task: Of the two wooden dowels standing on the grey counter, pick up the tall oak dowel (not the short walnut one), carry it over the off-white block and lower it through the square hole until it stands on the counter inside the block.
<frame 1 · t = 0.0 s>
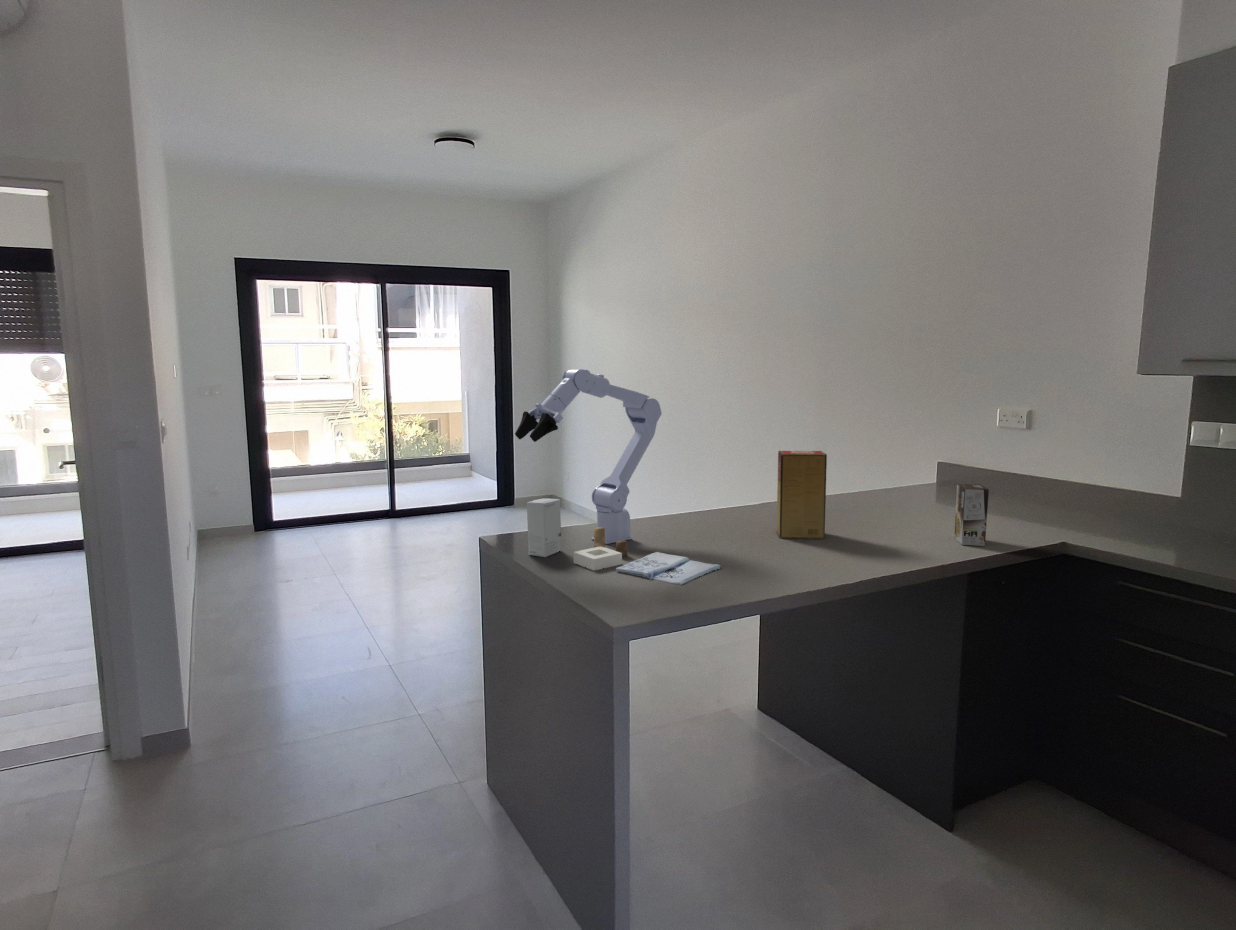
hand: (524, 437, 196), 32 cm above the worktop, tool tilted 50°, fingers open, 7 cm apart
folded cloth: (668, 572, 186), on the worktop
food packaging: (799, 535, 221), on the worktop
oak dowel: (599, 553, 203), on the worktop
skincare box: (545, 553, 204), on the worktop
walnut dowel: (621, 555, 200), on the worktop
socket block: (597, 563, 193), on the worktop
coffee box: (969, 542, 210), on the worktop
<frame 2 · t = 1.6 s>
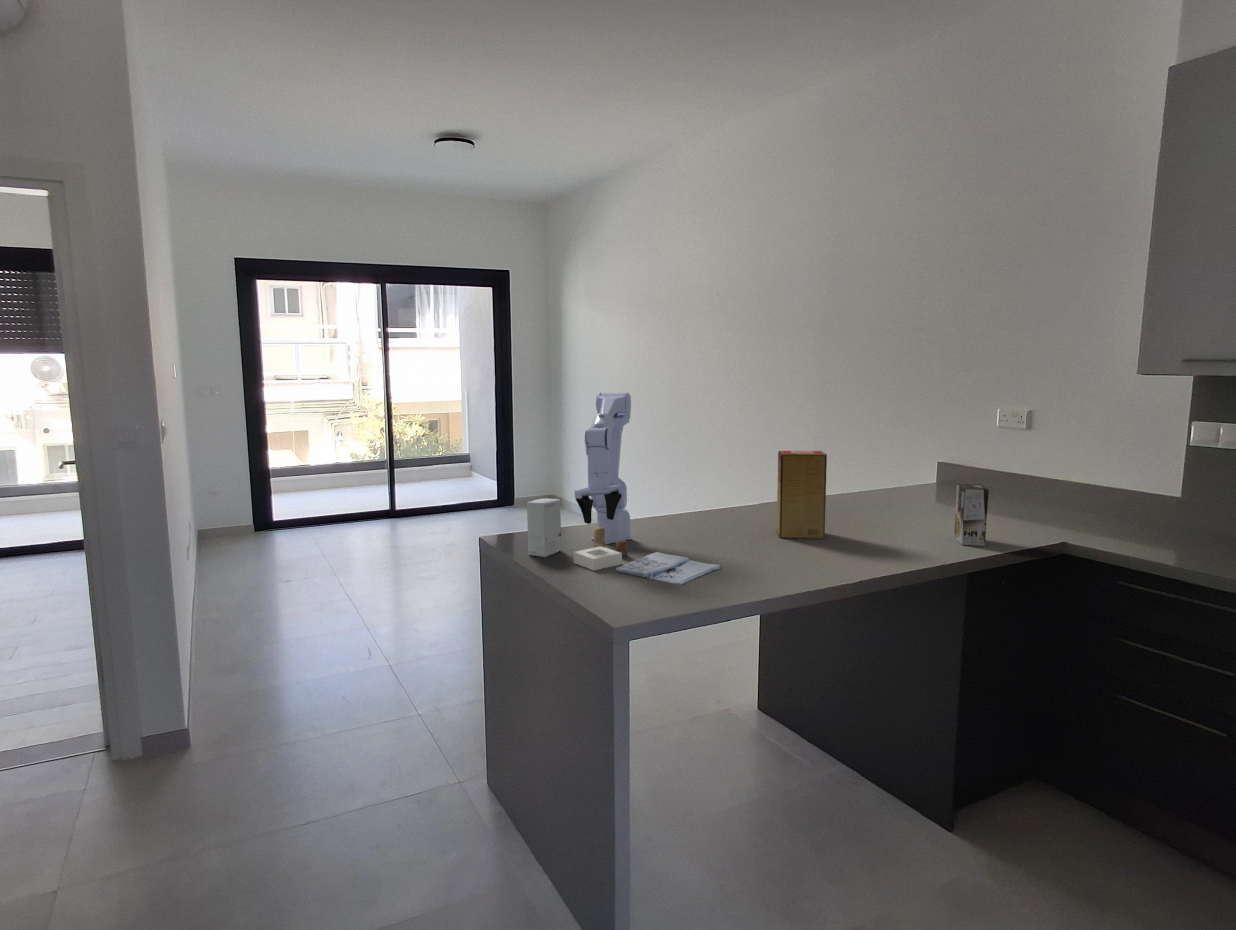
hand: (599, 521, 201), 9 cm above the worktop, tool pointing down, fingers open, 7 cm apart
nothing on the worktop moved.
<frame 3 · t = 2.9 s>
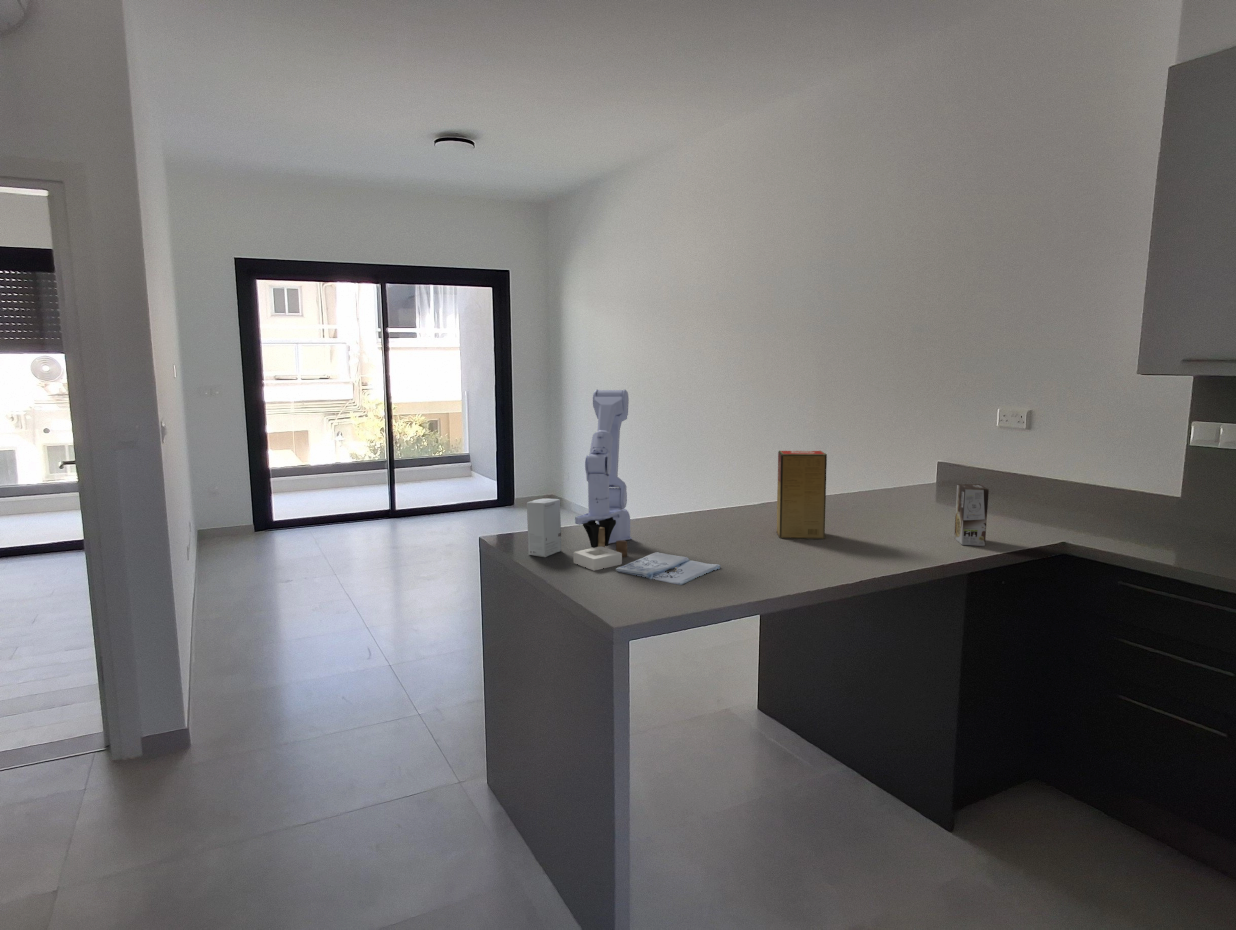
hand: (599, 546, 202), 2 cm above the worktop, tool pointing down, fingers closed on oak dowel, 3 cm apart
oak dowel: (599, 553, 203), on the worktop, touching gripper
everything else where it was.
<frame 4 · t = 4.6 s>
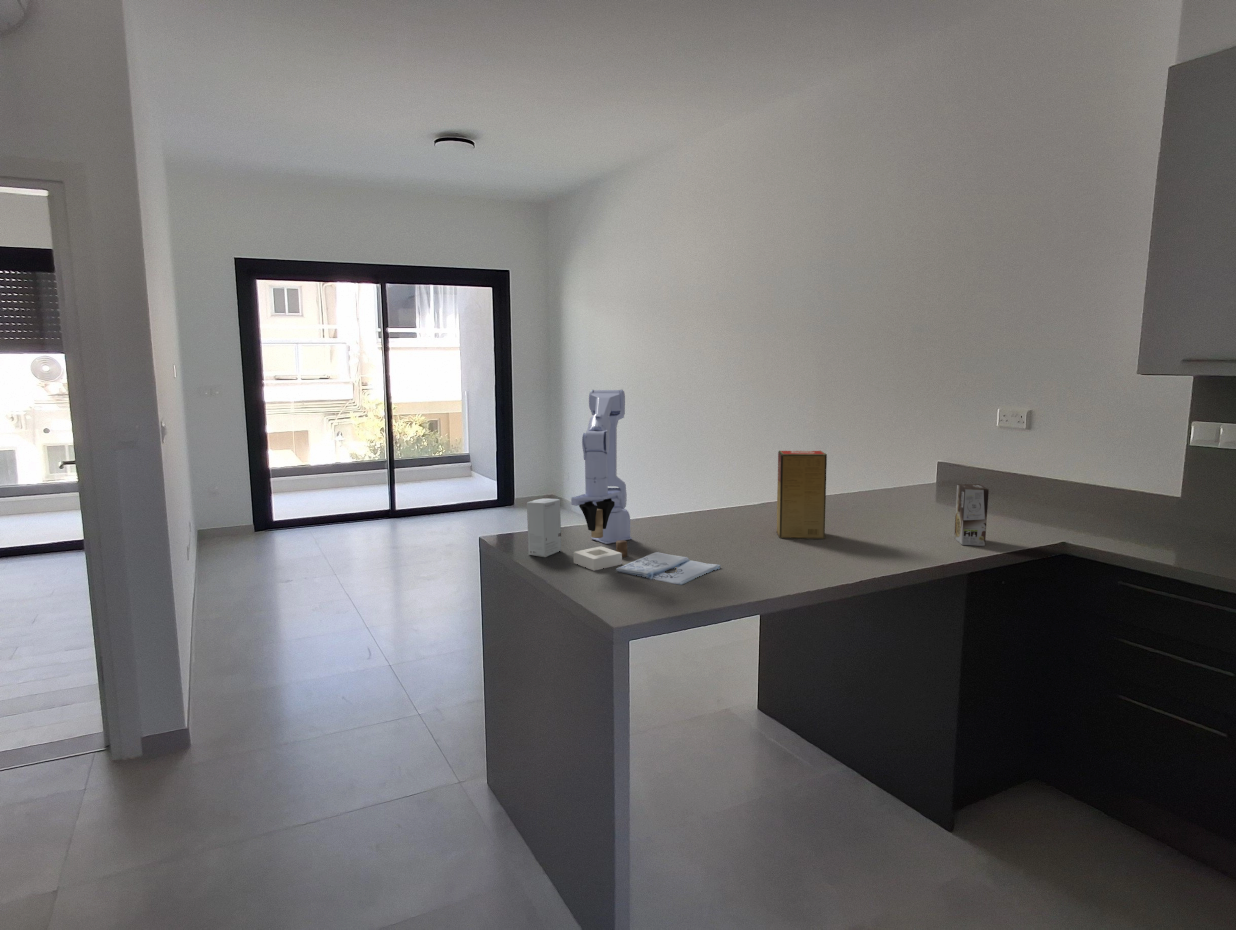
hand: (597, 529, 191), 9 cm above the worktop, tool pointing down, fingers closed on oak dowel, 3 cm apart
oak dowel: (597, 536, 191), point 7 cm above the worktop, touching gripper
everything else where it was.
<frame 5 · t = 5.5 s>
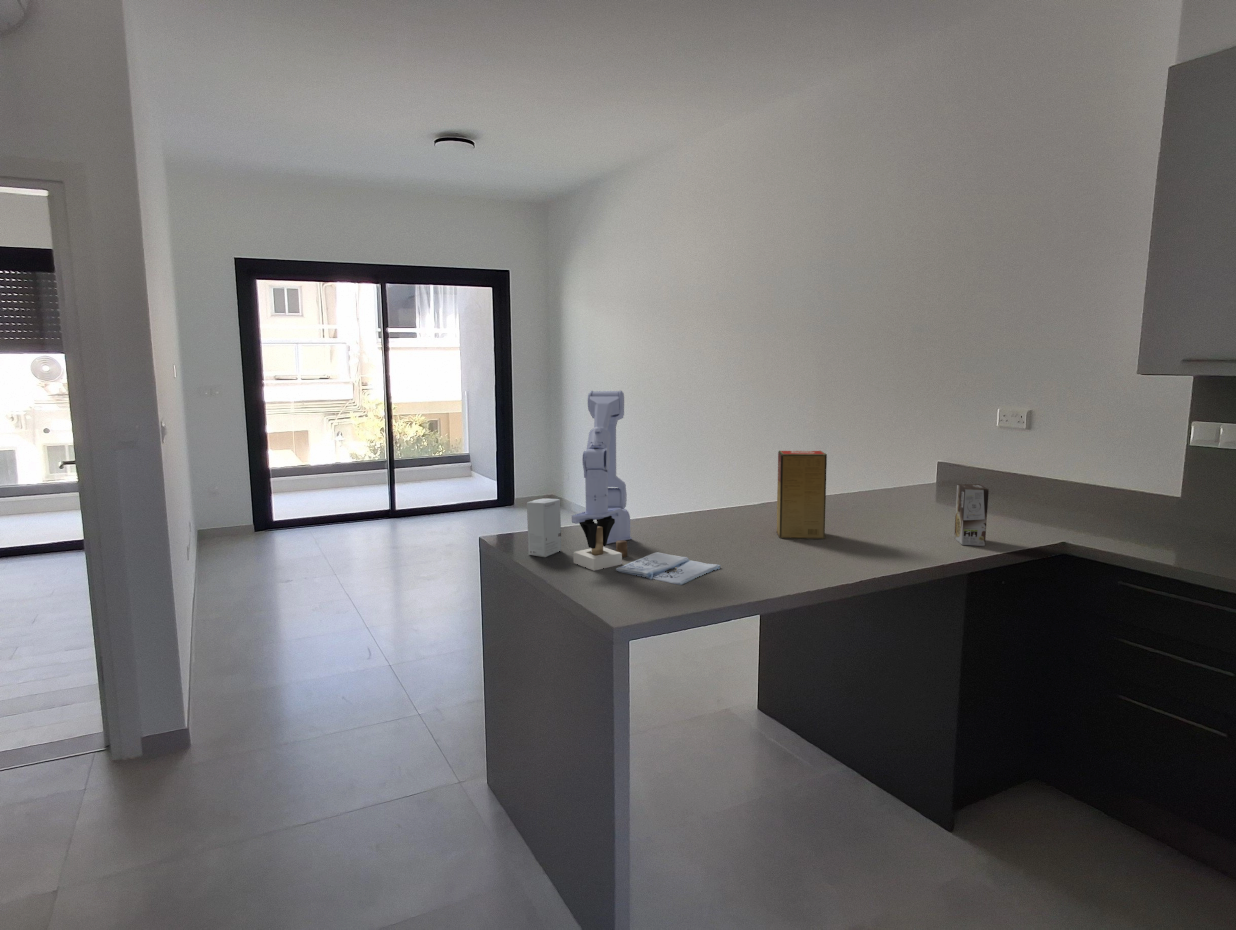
hand: (597, 546, 192), 5 cm above the worktop, tool pointing down, fingers closed on oak dowel, 3 cm apart
oak dowel: (597, 553, 192), point 3 cm above the worktop, touching gripper
everything else where it was.
when the fingers open (4 cm above the worktop, at t = 6.1 s): oak dowel drops 2 cm, resting in socket block.
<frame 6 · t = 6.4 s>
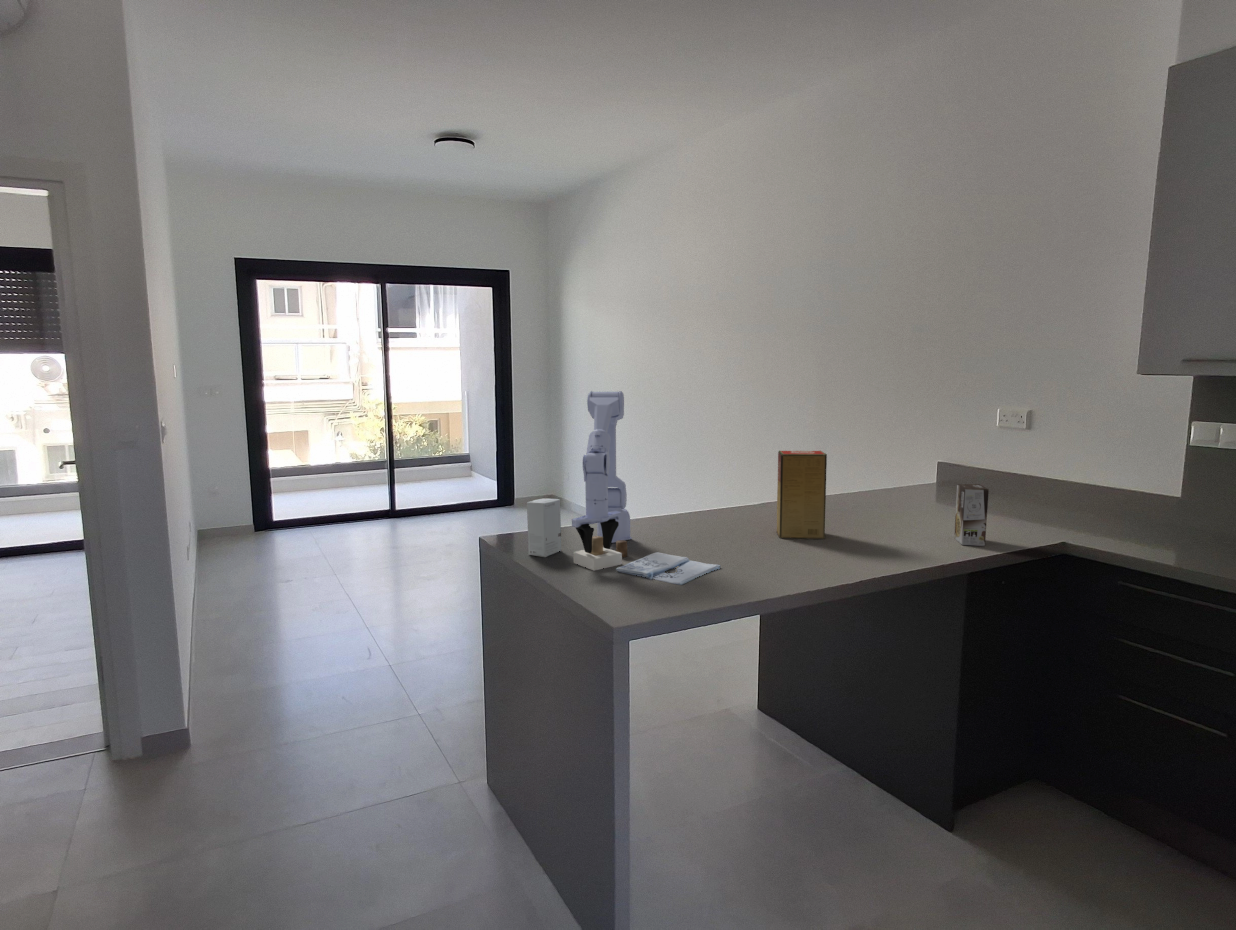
hand: (597, 550, 192), 4 cm above the worktop, tool pointing down, fingers open, 5 cm apart
oak dowel: (597, 563, 193), resting in socket block
everything else where it was.
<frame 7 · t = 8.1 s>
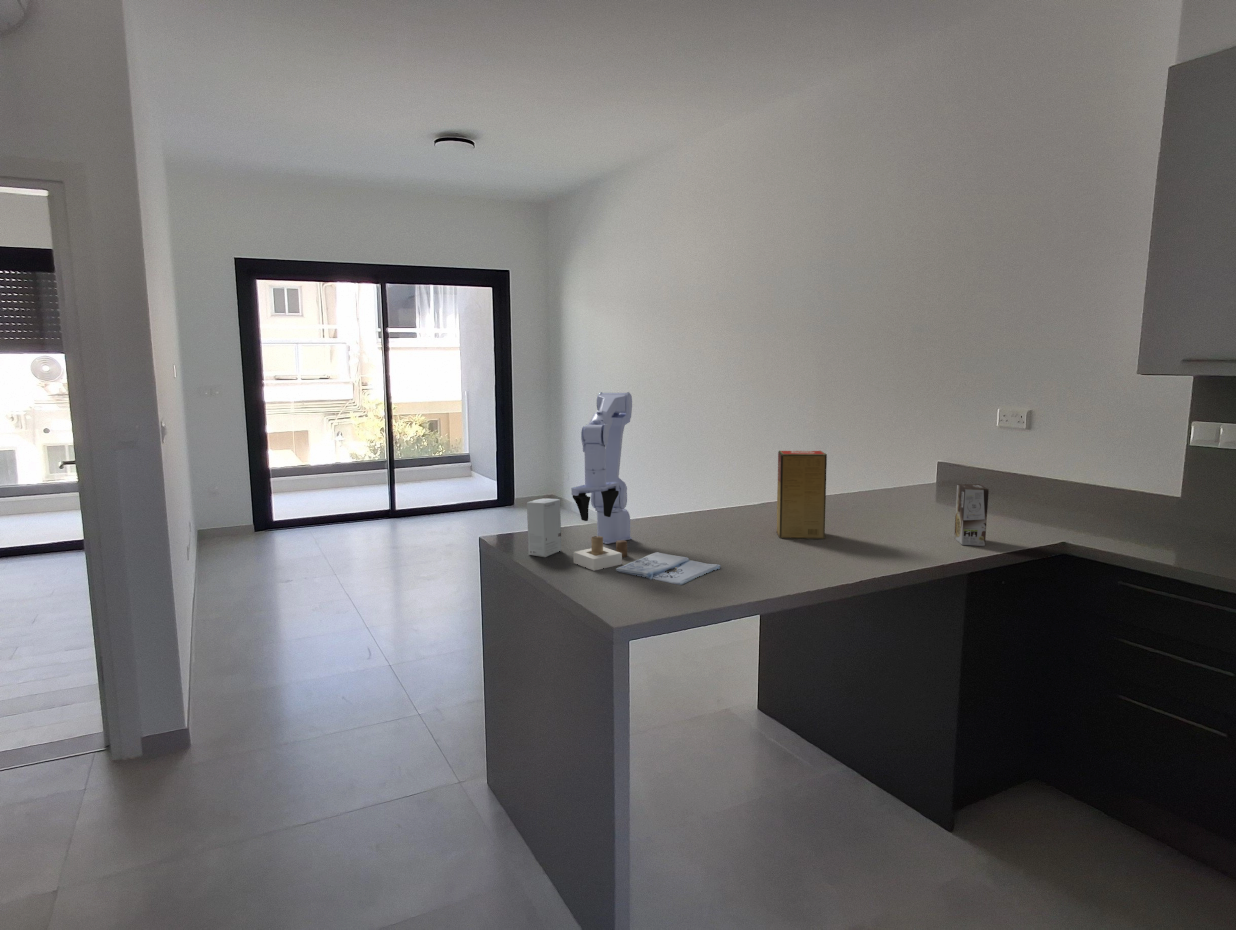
hand: (596, 518, 201), 10 cm above the worktop, tool pointing down, fingers open, 7 cm apart
nothing on the worktop moved.
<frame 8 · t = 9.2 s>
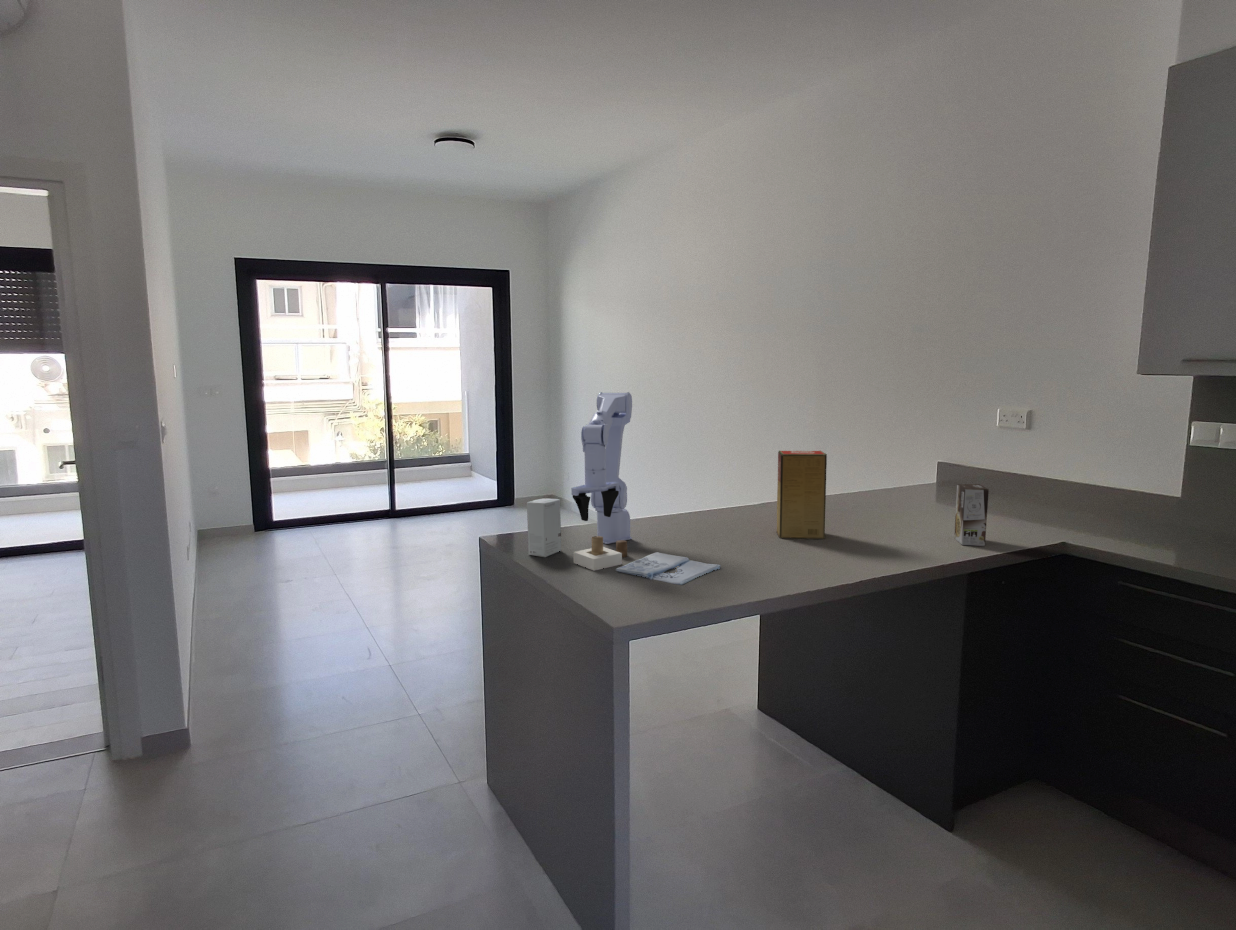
hand: (596, 518, 201), 10 cm above the worktop, tool pointing down, fingers open, 7 cm apart
nothing on the worktop moved.
at the end: oak dowel 0.1 cm off-centre on the socket block, point 0.0 cm above the socket block's base; oak dowel tilted 0°; walnut dowel moved 0.0 cm from its start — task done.
